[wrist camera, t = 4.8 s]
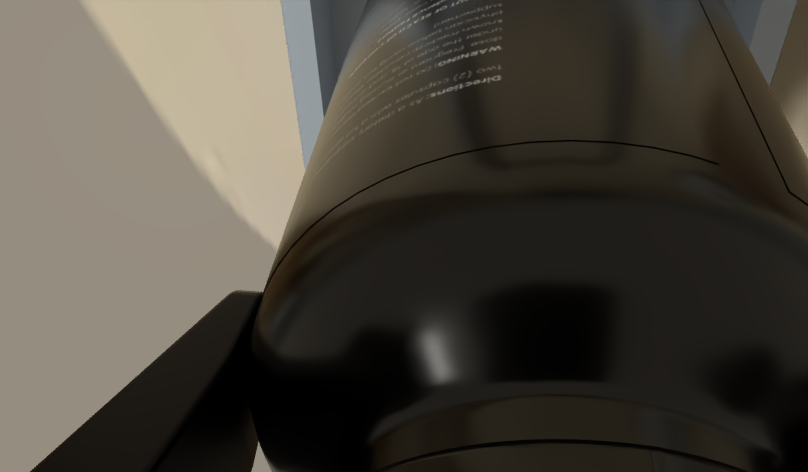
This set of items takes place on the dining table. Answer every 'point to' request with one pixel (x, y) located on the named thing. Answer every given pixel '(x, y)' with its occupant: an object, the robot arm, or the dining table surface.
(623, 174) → the supplement bottle
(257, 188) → the dining table surface
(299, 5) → the parts tray
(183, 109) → the dining table surface
